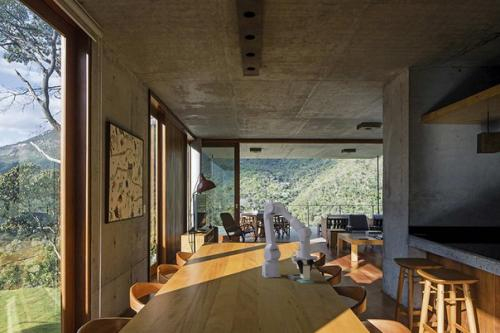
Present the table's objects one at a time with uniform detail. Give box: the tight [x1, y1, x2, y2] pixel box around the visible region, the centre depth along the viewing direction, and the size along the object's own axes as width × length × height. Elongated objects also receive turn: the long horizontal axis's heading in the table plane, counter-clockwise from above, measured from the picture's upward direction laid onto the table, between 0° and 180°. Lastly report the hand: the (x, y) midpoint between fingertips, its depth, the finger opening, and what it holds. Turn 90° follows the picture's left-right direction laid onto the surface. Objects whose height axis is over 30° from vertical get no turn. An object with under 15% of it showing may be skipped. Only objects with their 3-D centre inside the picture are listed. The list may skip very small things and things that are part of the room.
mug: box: [290, 248, 307, 270], centre depth 255 cm, size 10×7×12 cm, turn 80°
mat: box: [296, 278, 315, 284], centre depth 219 cm, size 7×7×1 cm
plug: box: [300, 263, 311, 280], centre depth 219 cm, size 4×4×7 cm
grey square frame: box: [286, 272, 302, 281], centre depth 228 cm, size 9×9×2 cm
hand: (305, 273), depth 219 cm, fingers closed on plug, 4 cm apart
